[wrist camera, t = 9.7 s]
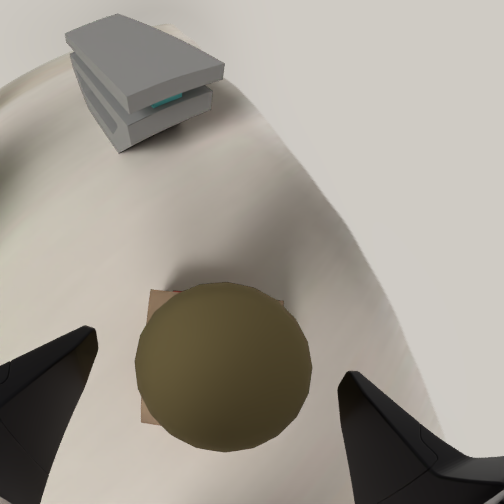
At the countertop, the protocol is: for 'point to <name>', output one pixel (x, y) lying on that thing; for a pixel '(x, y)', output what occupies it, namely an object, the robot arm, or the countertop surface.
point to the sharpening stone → (139, 78)
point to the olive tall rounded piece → (223, 367)
